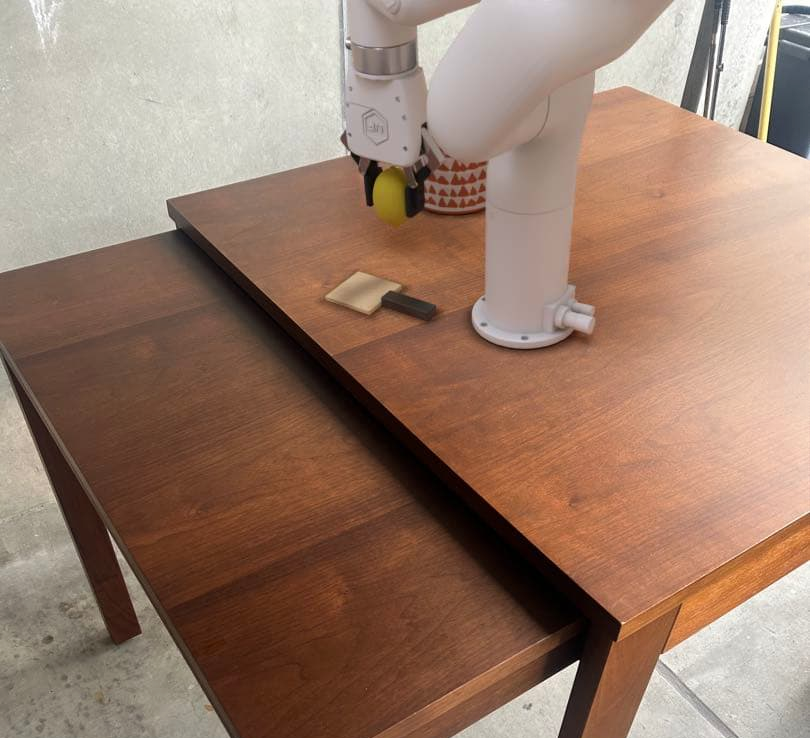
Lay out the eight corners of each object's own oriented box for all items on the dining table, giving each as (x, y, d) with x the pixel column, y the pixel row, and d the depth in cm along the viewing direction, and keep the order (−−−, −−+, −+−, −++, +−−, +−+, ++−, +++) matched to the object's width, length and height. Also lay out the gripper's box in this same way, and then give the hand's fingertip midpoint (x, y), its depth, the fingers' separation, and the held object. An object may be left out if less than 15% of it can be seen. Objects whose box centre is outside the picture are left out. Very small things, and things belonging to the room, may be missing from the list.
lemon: (413, 238, 111) (410, 177, 105) (371, 236, 112) (365, 175, 106) (421, 217, 114) (418, 157, 109) (380, 216, 115) (375, 156, 110)
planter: (490, 220, 121) (492, 127, 112) (398, 211, 125) (392, 119, 115) (514, 177, 130) (517, 87, 121) (427, 169, 133) (424, 81, 124)
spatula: (447, 303, 107) (447, 295, 106) (415, 331, 104) (415, 322, 103) (358, 274, 113) (357, 266, 112) (325, 300, 110) (324, 291, 109)
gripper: (306, 53, 99) (325, 204, 113) (429, 78, 92) (434, 236, 105) (345, 33, 103) (360, 181, 117) (467, 55, 96) (467, 211, 109)
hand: (395, 206), depth 111 cm, fingers closed on lemon, 5 cm apart
